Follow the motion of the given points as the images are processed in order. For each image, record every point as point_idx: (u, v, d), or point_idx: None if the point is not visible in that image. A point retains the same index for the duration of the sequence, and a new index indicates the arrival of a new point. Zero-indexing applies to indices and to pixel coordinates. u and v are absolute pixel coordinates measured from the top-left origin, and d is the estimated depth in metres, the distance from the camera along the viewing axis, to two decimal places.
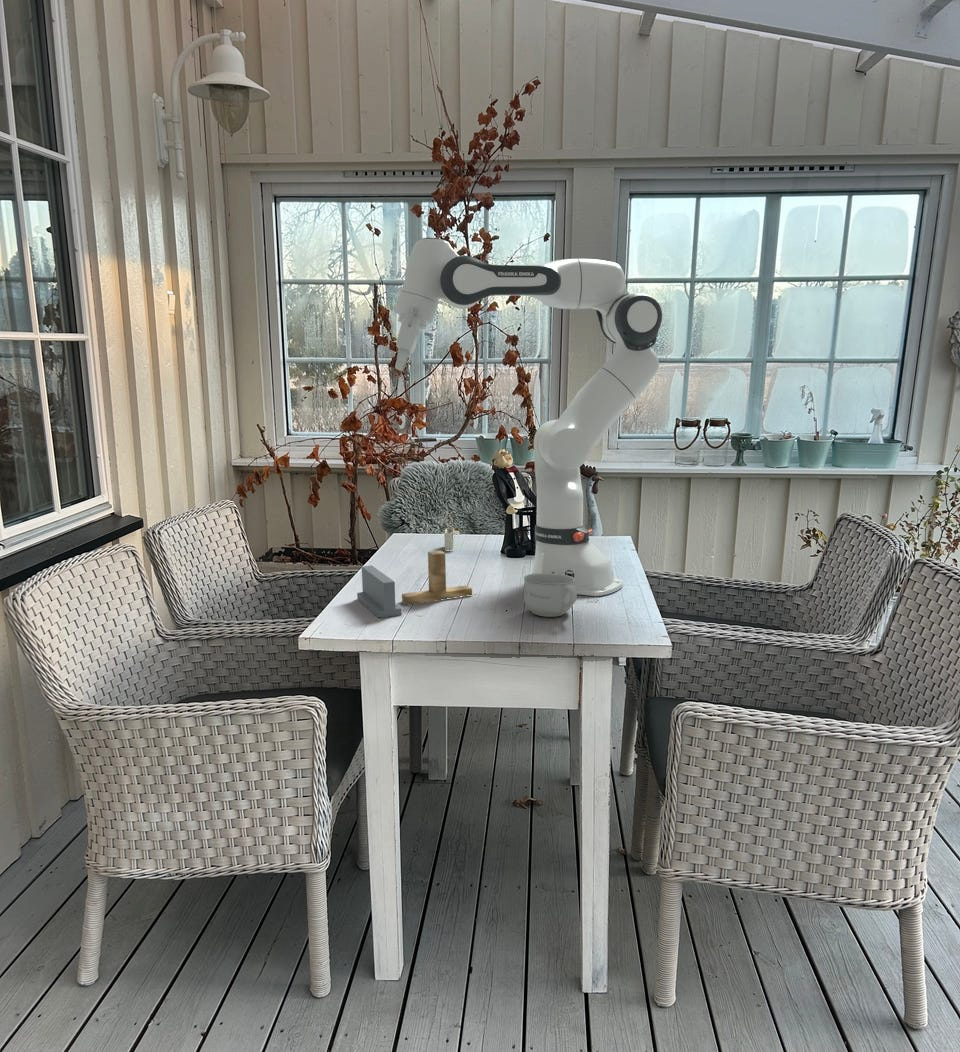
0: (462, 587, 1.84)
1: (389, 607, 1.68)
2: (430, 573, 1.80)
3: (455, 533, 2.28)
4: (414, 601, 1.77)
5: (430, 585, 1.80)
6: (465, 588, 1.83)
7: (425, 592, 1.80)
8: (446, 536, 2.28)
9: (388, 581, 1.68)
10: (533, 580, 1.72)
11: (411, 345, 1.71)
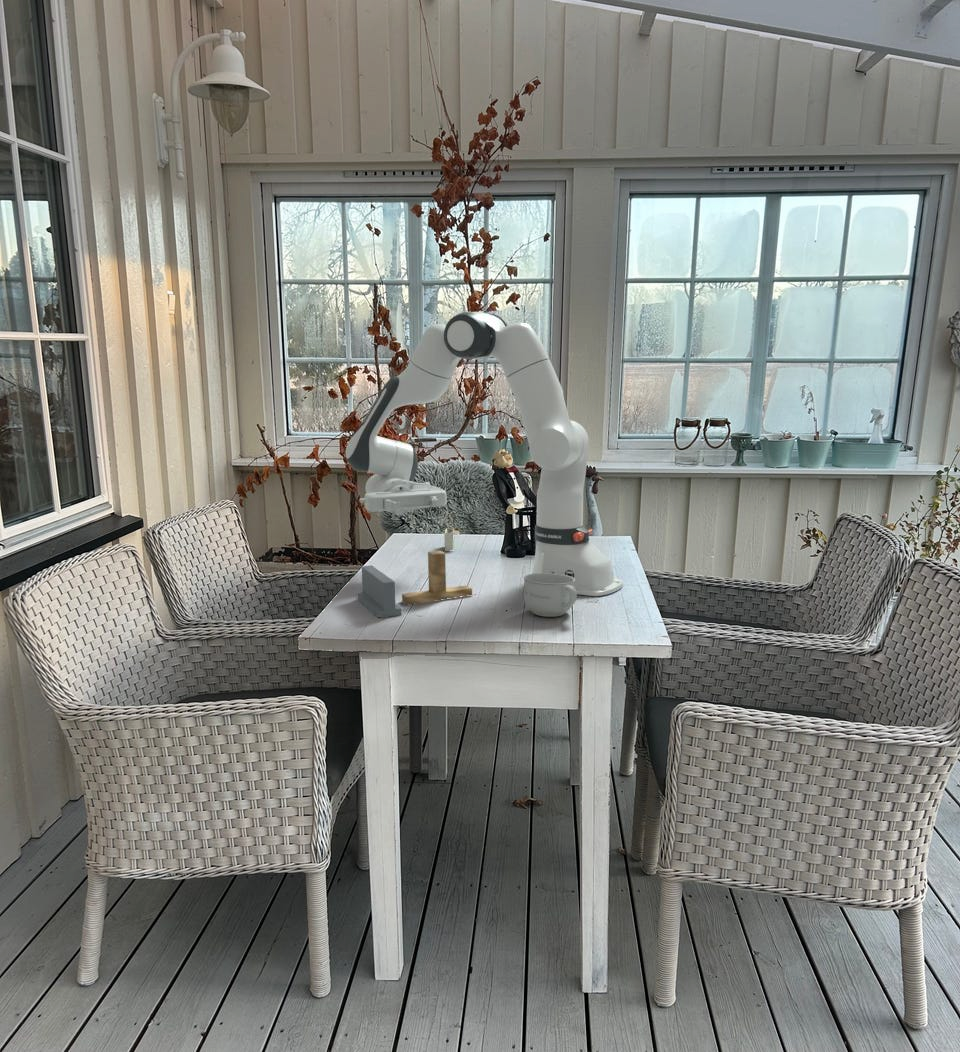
0: (462, 587, 1.84)
1: (389, 607, 1.68)
2: (430, 573, 1.80)
3: (455, 533, 2.28)
4: (414, 601, 1.77)
5: (430, 585, 1.80)
6: (465, 588, 1.83)
7: (425, 592, 1.80)
8: (446, 536, 2.28)
9: (388, 581, 1.68)
10: (533, 580, 1.72)
11: (368, 498, 1.89)
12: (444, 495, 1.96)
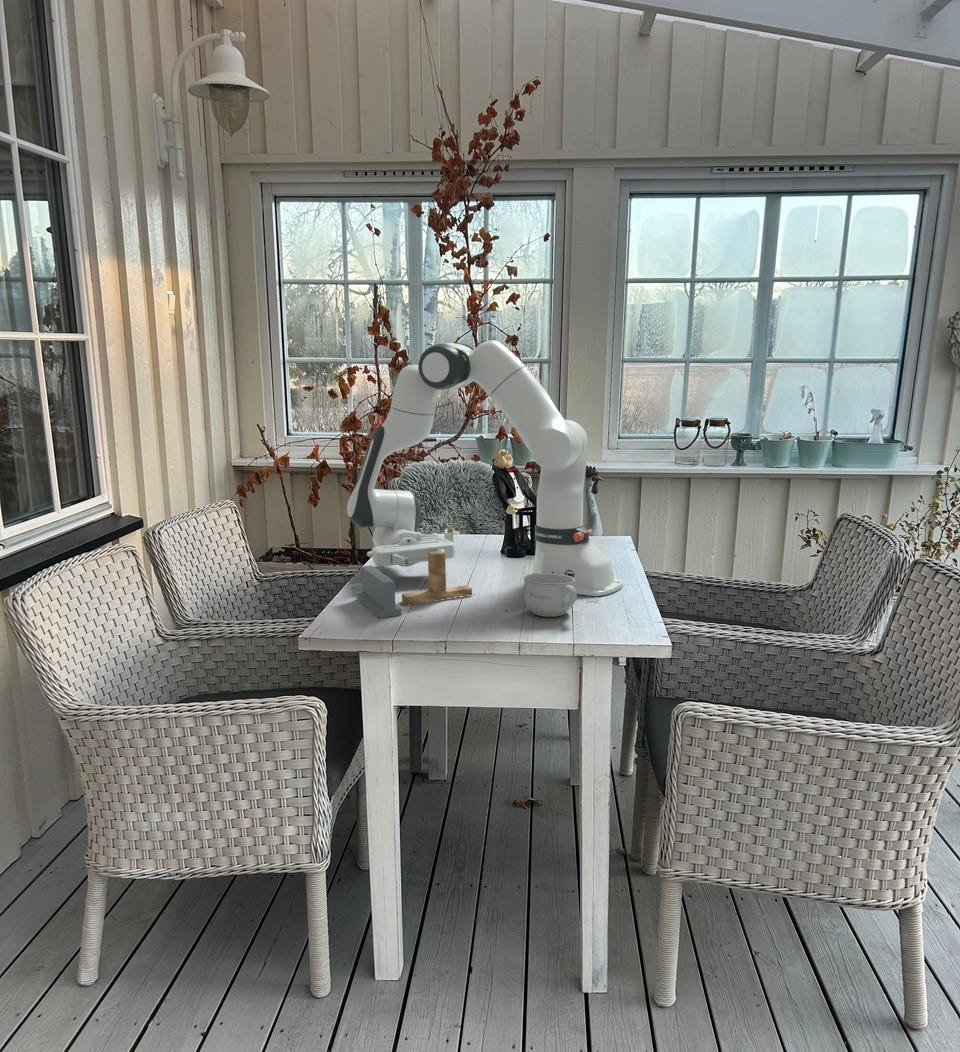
0: (462, 587, 1.84)
1: (389, 607, 1.68)
2: (430, 573, 1.80)
3: (455, 533, 2.28)
4: (414, 601, 1.77)
5: (430, 585, 1.80)
6: (465, 588, 1.83)
7: (425, 592, 1.80)
8: (446, 536, 2.27)
9: (388, 581, 1.68)
10: (533, 580, 1.72)
11: (376, 553, 1.88)
12: (452, 547, 1.95)
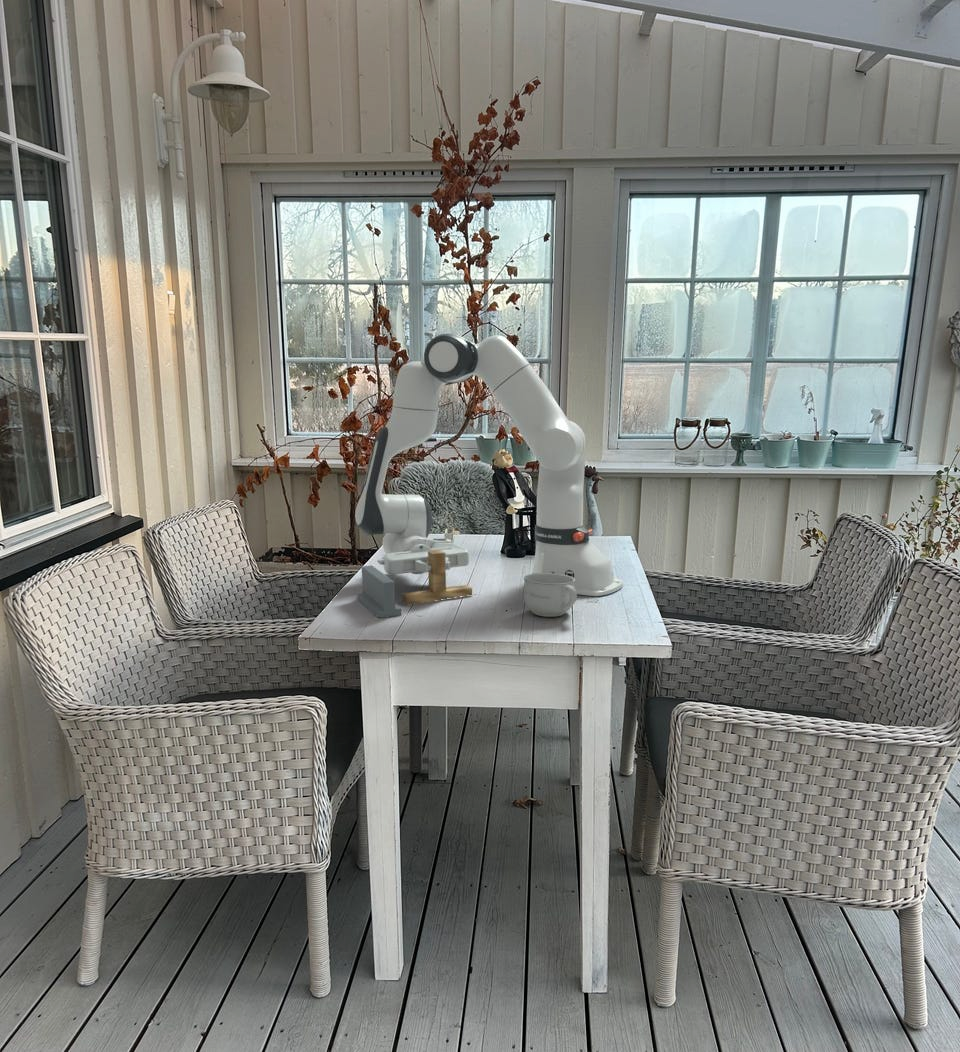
0: (462, 587, 1.84)
1: (389, 607, 1.68)
2: (430, 573, 1.80)
3: (455, 533, 2.27)
4: (414, 600, 1.77)
5: (430, 585, 1.80)
6: (465, 587, 1.83)
7: (425, 591, 1.80)
8: (446, 536, 2.27)
9: (388, 581, 1.68)
10: (533, 580, 1.72)
11: (388, 560, 1.80)
12: (466, 555, 1.87)
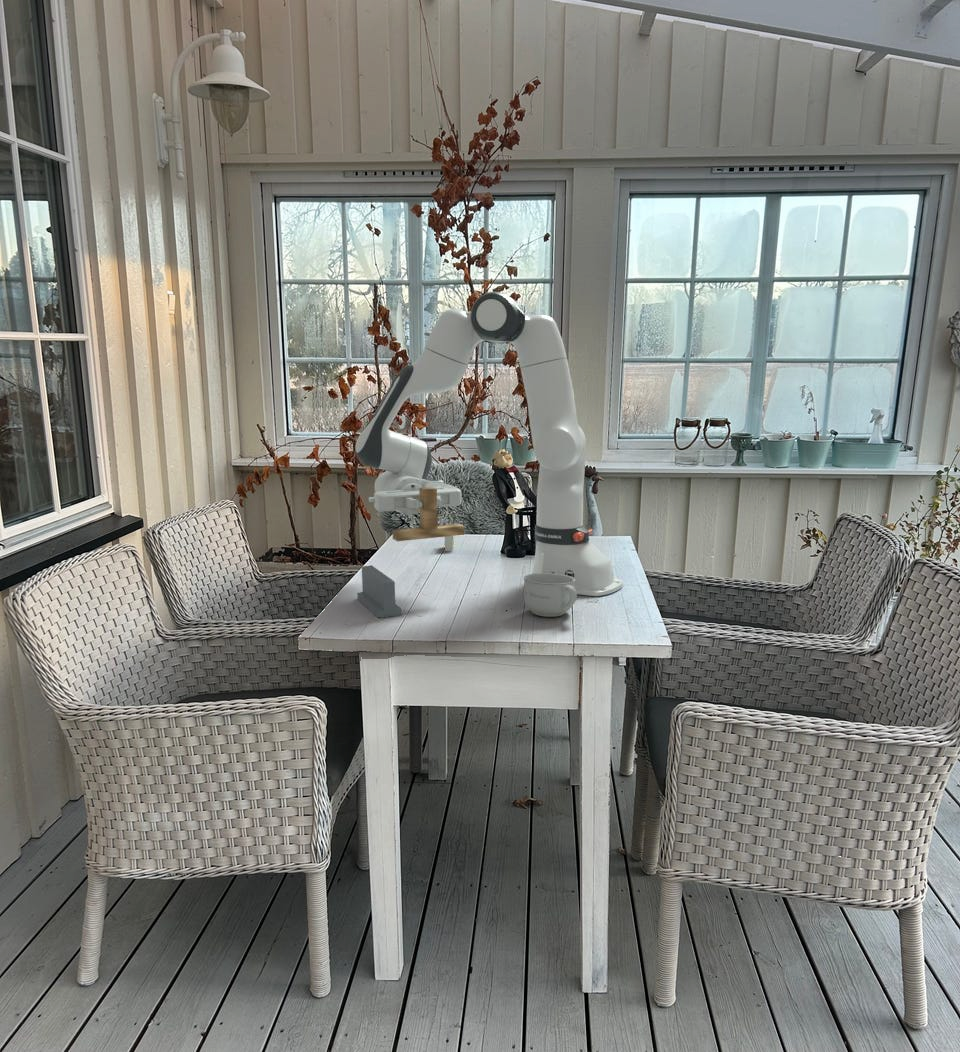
0: (454, 525, 1.80)
1: (389, 607, 1.68)
2: (421, 509, 1.76)
3: None
4: (405, 537, 1.74)
5: (422, 522, 1.77)
6: (457, 526, 1.79)
7: (416, 528, 1.76)
8: (446, 536, 2.27)
9: (388, 581, 1.68)
10: (533, 580, 1.72)
11: (378, 496, 1.76)
12: (459, 494, 1.83)
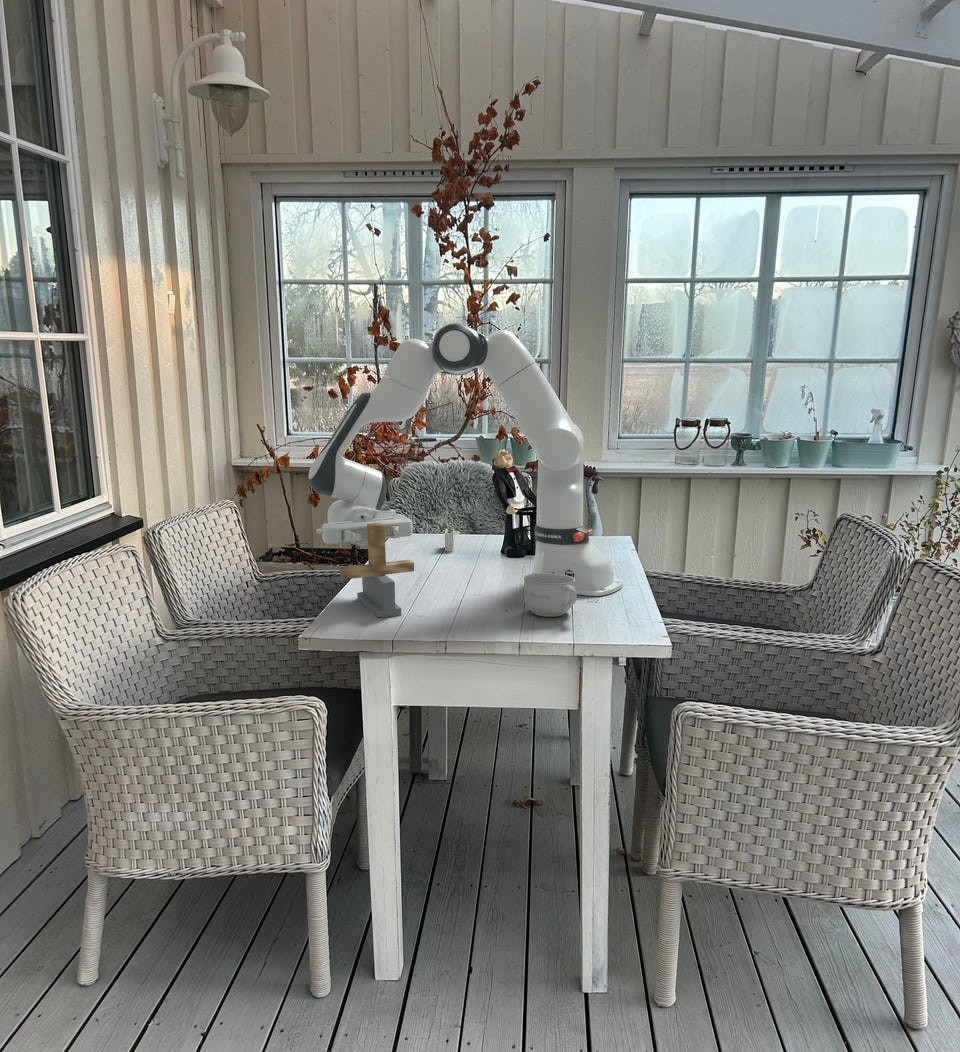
0: (404, 561, 1.76)
1: (389, 607, 1.68)
2: (369, 546, 1.72)
3: (455, 533, 2.27)
4: (352, 575, 1.70)
5: (370, 559, 1.73)
6: (407, 562, 1.76)
7: (364, 566, 1.73)
8: (446, 536, 2.27)
9: (388, 581, 1.68)
10: (533, 580, 1.72)
11: (325, 529, 1.72)
12: (409, 524, 1.79)
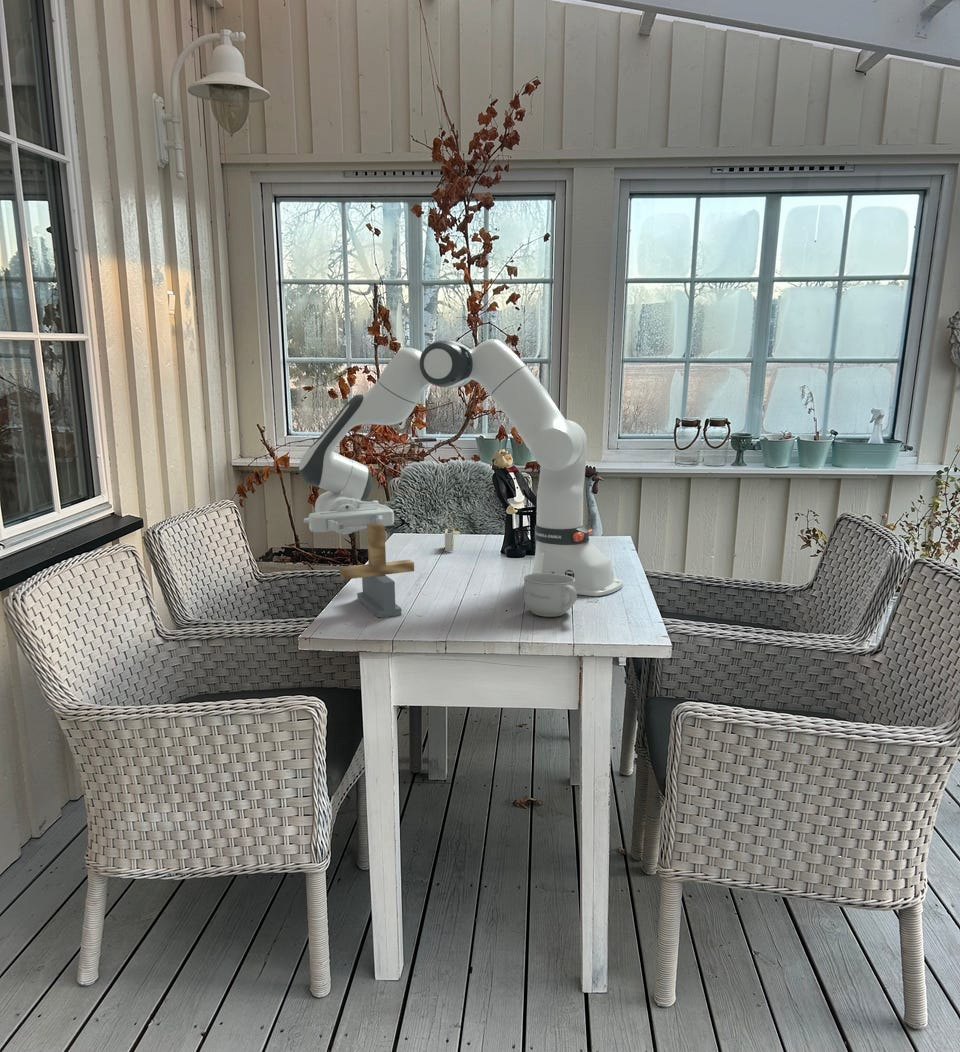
0: (404, 561, 1.76)
1: (389, 607, 1.68)
2: (369, 546, 1.72)
3: (455, 533, 2.27)
4: (352, 575, 1.70)
5: (370, 559, 1.73)
6: (407, 562, 1.76)
7: (364, 566, 1.73)
8: (446, 536, 2.27)
9: (388, 581, 1.68)
10: (533, 580, 1.72)
11: (311, 518, 1.84)
12: (391, 514, 1.91)
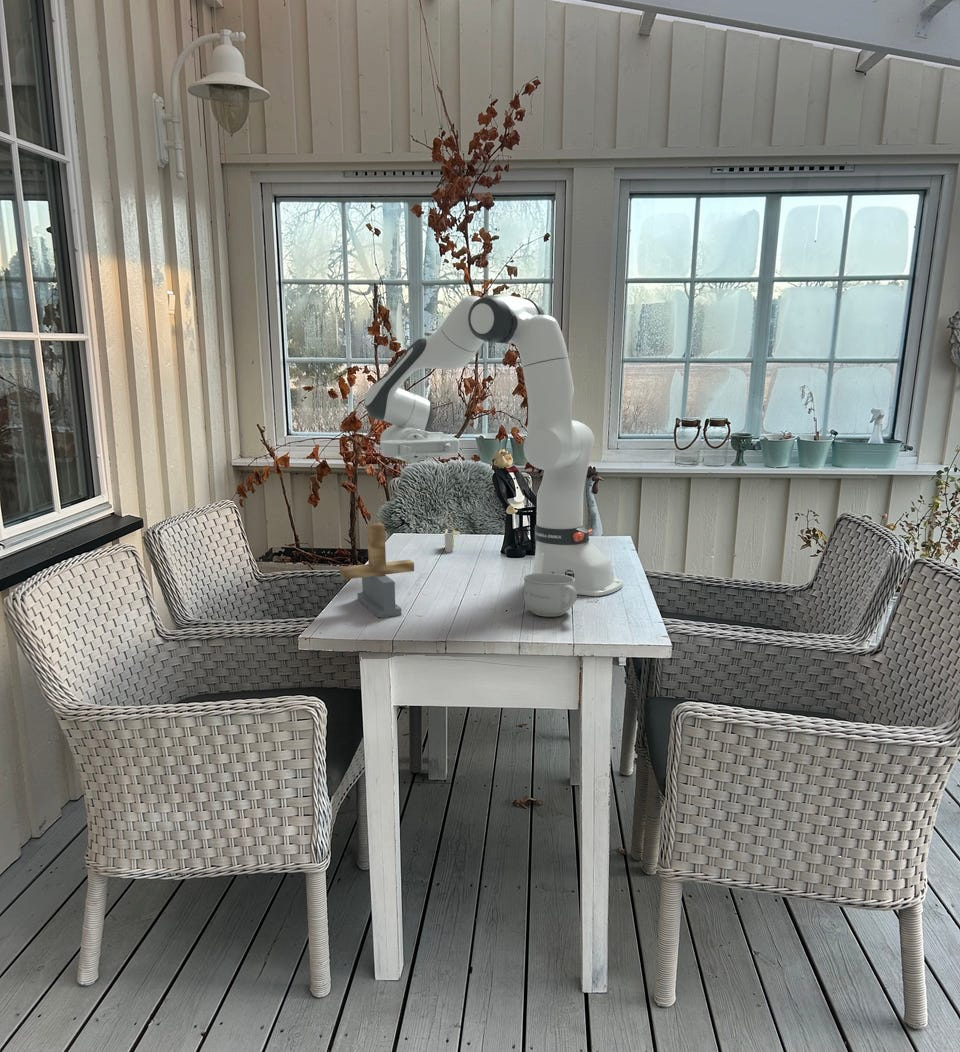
0: (404, 561, 1.76)
1: (389, 607, 1.68)
2: (369, 546, 1.72)
3: (455, 534, 2.27)
4: (352, 575, 1.70)
5: (370, 559, 1.73)
6: (407, 562, 1.76)
7: (364, 566, 1.73)
8: (446, 537, 2.27)
9: (388, 581, 1.68)
10: (533, 580, 1.72)
11: (384, 443, 1.95)
12: (457, 442, 2.03)
